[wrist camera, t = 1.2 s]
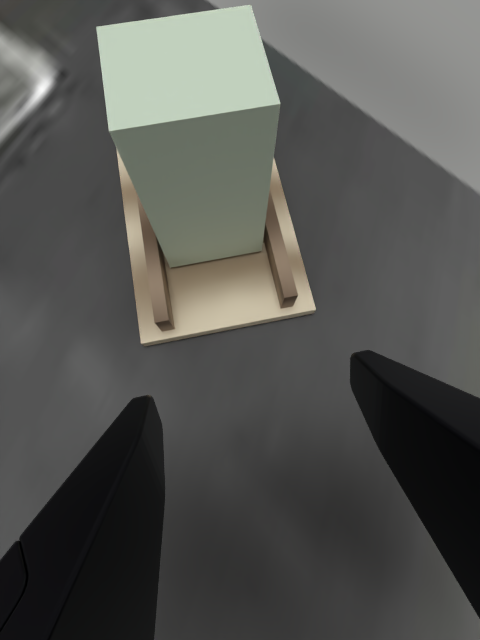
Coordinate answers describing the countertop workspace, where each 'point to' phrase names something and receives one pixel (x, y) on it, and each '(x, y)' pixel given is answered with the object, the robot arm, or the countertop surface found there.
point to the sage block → (194, 127)
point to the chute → (215, 277)
